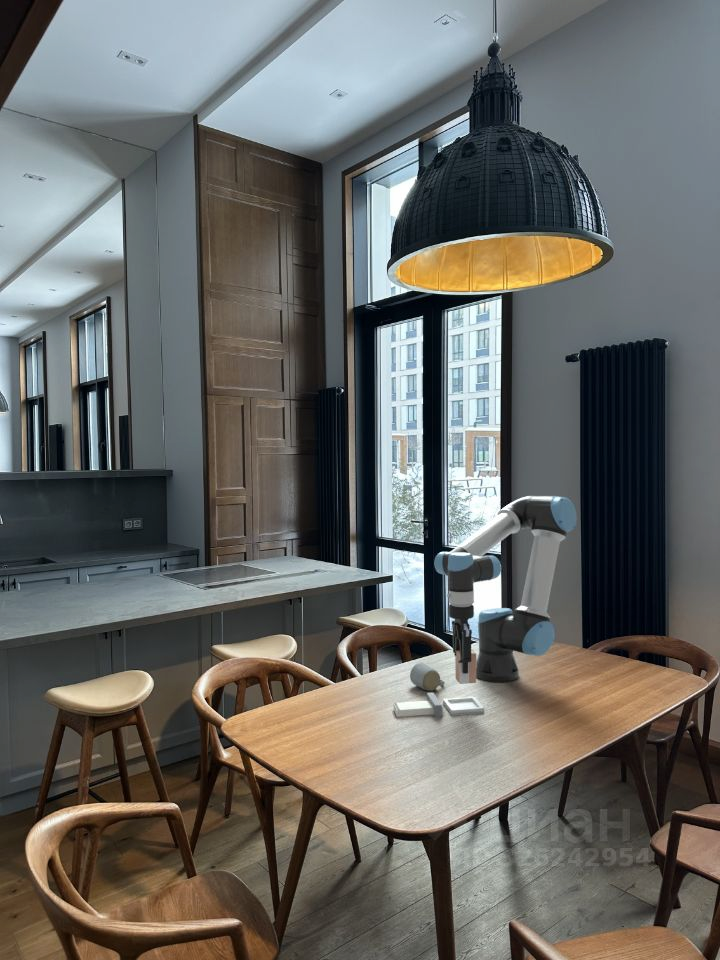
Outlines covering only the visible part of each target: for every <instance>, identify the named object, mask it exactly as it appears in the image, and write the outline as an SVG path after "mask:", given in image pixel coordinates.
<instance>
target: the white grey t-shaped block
mask: <svg viewBox="0 0 720 960" xmlns="http://www.w3.org/2000/svg"><path fill="white" fill-rule="evenodd" d="M392 704H393V712H394V713H395V715H396V717H398V718H400V717H401V718H403V717H413V716H414V717H415V716H425V715H427V716H428V715H429V716H430V715H434V717H435V718H442V717H443V714H444V706H443V705H442V704H443V703H441V702H440V700H439V699H438V697H437V696H436V694H435V693H434V692H426V700H419V701H417V700H416V701H406V702H404V701H403V702H402V701H401V702H393V703H392Z"/></svg>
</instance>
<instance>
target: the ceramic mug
mask: <svg viewBox="0 0 720 960" xmlns="http://www.w3.org/2000/svg"><path fill="white" fill-rule="evenodd" d="M409 673H410V674H409V675H410V676H409V677H410V679H409V680H411V683H412V684H413V685H415V686H416V687H418V688H419V689H420V688H421V689H422V690H424V691H427V692H433V691H434V690H436V689H437V688H438V687H439V686H440V687H445V681H444V680H442V679H441V676H440V673H439V672H438V671H437V670H436V669H434V668H432V667H431V666H429V665H428V664H426V663H424V662H417V663H416V664H414V666H413V667H412V668H411V670H410V672H409Z"/></svg>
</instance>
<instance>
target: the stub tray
mask: <svg viewBox="0 0 720 960" xmlns="http://www.w3.org/2000/svg"><path fill="white" fill-rule="evenodd" d="M442 704H443V705H444V707H445V708H446V711H448V712H449V713H450V715H451V716H462V715H474V714H477V715H478V714H485V707H484V705H482V703H481V702H480V701H479V700H478V699H477V698H476V697H475V696H463V697H462V696H461V697H449V698H442Z"/></svg>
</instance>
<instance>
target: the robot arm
mask: <svg viewBox="0 0 720 960" xmlns="http://www.w3.org/2000/svg"><path fill="white" fill-rule="evenodd" d="M576 524H577V511H576V508H575V505H574V503H573V502H572V501H571V500H570V499H569V498H568V497H565V496H557V495H527V496H523V497H520V498H517V499H516V500H513V501H512V502H510V503H509V504H507V505H506V506H504V507H502V509H500V510H499V511H497V516H495V517H494V518H493V519H492V520H490V521H489V522H488V523H486V524H485V525H484V526H482V527H481V528H480V529H478V530H477V531H476V532H475V533H473V534H472V535H471V536H469V537H467V539H465V540H464V541H463V542H462V543H459V545H457V546H456V547H455V548H454V549H452V550H451V551H441V552H439V553H437V555H435V558H434V560H433V561H434V562H433V563H434V565H433V566H434V568H435V571H436V572H437V573H438V574H439V575H440V574H441V575H444V576H447V577H448V593H447V594H446V597H447V598H448V603H449V605H448V617H449V618H451V619H453V620H451V625H452V626H451V627H452V628H451V629H452V652H453V654H454V657H455V658H454V661H455V662H454V663H455V667H454V669H455V671H454V672H455V674H454V675H455V677H456V651H457V650H460V659H461V660H460V661H458V662H459V663H460V683H459V684H460V685H466V684H468V685H469V684H470V683H469V662H471V650H472V633H473V631H472V629H471V628H470V623H469V620H471V619H472V618H474V616H475V607H474V605H473V604H474V603H475V593H474V591H475V590H474V583H479V582H486V581H489V582H490V581H491V580H494V579H496V578H498V577H499V576H500V575H501V572H502V564H501V561H500V560H499V558H498V557H496V556H494V555H485V554H487V553H488V552H489V551H490V550H492V549H493V548H495V547H496V546H497V545H498V544H499V543H501V542H502V541H503V540H504V539H506V538H507V537H508V536H509V535H511V534H517V533H519V531H521V530H525V529H530V531H531V534H532V535H533V542H532V547H531V553H530V556H529V562H528V567H527V572H526V577H525V583H524V587H523V592H522V597H521V602H520V605H519V606H518V607H516V608H515V609H514V612H513V610H512V609H511V608H507V607H502V608H501V607H500V608H499V607H496V608H489V609H484V610H482V611H480V613H479V614H478V622H477V626H478V656H477V657H476V658H477V668H476V679H479V680H482V681H486V682H494V683H495V682H496V683H504V682H512V681H514V680H516V679H518V678H519V676H520V675H519V673H520V672H519V667H518V664H517V660H516V658H515V654H514V652H517V653H521V654H524V655H527V656H535V657H536V656H537V657H540V656H543V655H545V654H546V653H547V652H548V651H549V650H550V649H551V647H552V646H553V643H554V641H555V635H556V634H555V627H554V626H553V624H552V623H551V621H550V620H551V616H550V615H549V613H548V605H549V601H550V595H551V591H552V590H551V589H552V585H553V581H554V576H555V570H556V564H557V558H558V554H559V549H560V544H561V542H562V541H563V540H565V539H566V537H567V533H569V532H571V531H573V530H574V528H576ZM513 613H514V614H513Z"/></svg>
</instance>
